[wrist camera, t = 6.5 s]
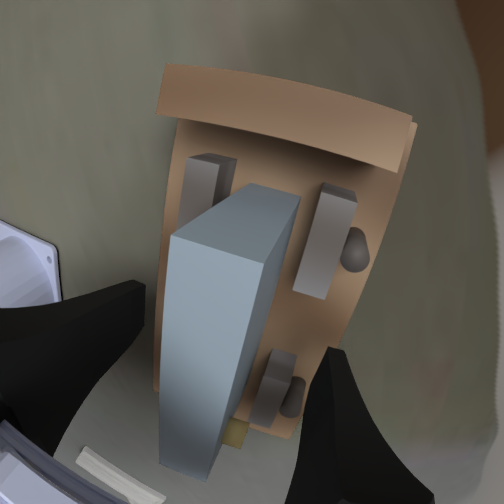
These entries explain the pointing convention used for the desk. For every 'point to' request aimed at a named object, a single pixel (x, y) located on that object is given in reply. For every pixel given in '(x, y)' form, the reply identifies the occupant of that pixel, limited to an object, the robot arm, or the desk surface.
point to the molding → (118, 479)
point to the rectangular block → (217, 321)
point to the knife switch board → (308, 215)
